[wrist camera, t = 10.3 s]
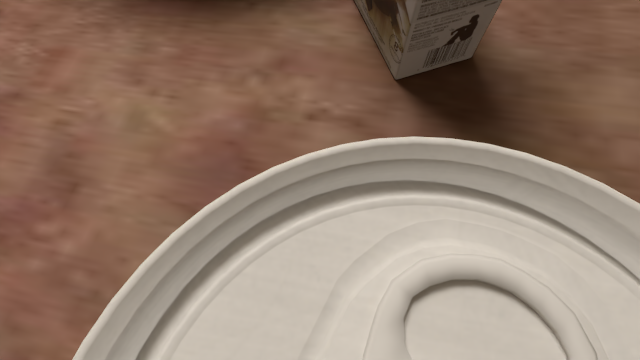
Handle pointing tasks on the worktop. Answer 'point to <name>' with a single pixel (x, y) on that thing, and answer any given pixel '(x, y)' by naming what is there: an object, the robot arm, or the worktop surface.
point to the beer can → (391, 264)
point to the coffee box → (426, 31)
